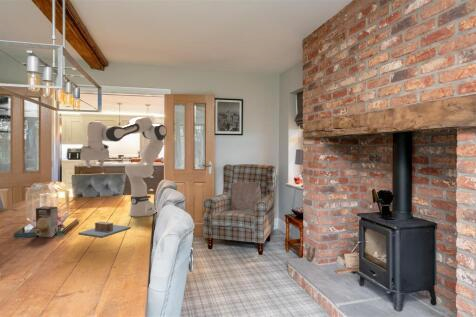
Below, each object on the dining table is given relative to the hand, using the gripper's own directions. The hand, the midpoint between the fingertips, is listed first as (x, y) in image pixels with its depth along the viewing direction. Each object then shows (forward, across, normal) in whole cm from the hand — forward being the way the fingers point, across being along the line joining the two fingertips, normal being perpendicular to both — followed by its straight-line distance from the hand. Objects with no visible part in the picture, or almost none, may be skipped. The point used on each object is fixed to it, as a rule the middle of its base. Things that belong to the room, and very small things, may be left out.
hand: (95, 167), depth 200 cm
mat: (+37, -12, -21) cm, 44 cm away
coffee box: (+37, -32, +2) cm, 49 cm away
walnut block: (+34, -12, -15) cm, 39 cm away
